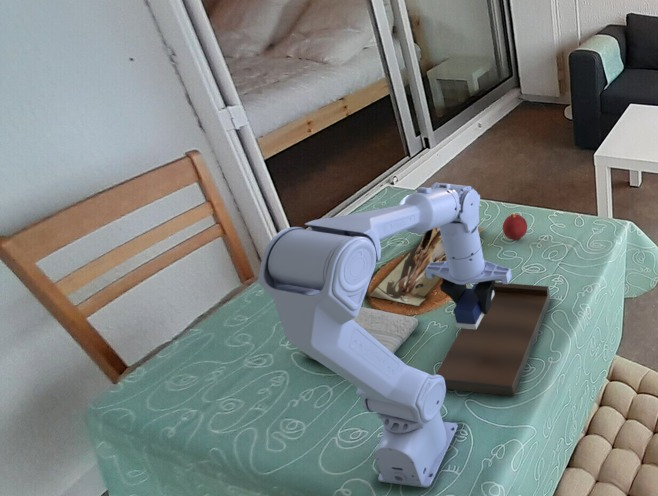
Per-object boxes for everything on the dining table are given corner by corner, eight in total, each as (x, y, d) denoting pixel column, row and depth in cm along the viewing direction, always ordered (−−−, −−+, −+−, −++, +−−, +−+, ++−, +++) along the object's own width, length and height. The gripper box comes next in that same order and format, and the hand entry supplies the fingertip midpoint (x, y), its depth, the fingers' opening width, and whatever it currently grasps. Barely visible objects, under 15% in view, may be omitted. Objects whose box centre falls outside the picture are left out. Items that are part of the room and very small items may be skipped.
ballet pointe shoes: (485, 206, 125) (419, 283, 100) (488, 227, 128) (425, 308, 103) (435, 199, 127) (359, 273, 103) (440, 220, 130) (367, 297, 105)
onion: (502, 236, 124) (498, 209, 120) (525, 230, 126) (521, 203, 123) (507, 249, 119) (503, 222, 116) (531, 243, 121) (527, 216, 118)
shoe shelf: (514, 396, 85) (511, 380, 83) (436, 388, 86) (431, 372, 84) (550, 300, 104) (548, 286, 102) (486, 295, 106) (483, 281, 104)
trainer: (476, 329, 85) (472, 312, 84) (456, 328, 86) (452, 310, 84) (494, 294, 93) (491, 277, 91) (476, 292, 93) (472, 276, 92)
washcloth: (344, 310, 102) (340, 299, 101) (422, 324, 99) (419, 312, 98) (297, 358, 92) (292, 346, 91) (383, 375, 88) (378, 363, 87)
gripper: (513, 236, 86) (522, 295, 92) (433, 230, 88) (447, 289, 94) (498, 263, 80) (509, 325, 86) (412, 257, 81) (429, 318, 87)
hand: (476, 308), depth 89 cm, fingers closed on trainer, 3 cm apart
